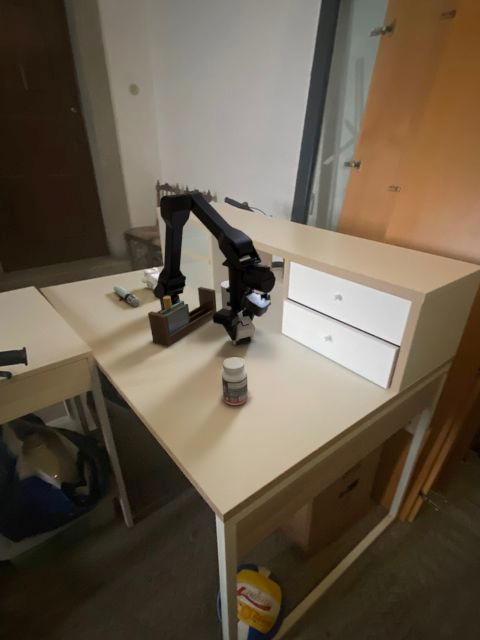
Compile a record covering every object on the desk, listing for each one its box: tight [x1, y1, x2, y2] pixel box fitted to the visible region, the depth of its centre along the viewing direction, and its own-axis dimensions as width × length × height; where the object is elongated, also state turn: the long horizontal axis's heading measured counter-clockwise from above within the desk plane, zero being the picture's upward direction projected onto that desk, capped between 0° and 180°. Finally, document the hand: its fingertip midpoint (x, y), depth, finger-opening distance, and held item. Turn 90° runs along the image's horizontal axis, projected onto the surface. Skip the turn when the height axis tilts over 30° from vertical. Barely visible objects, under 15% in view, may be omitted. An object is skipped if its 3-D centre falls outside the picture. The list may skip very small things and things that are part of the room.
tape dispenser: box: [231, 316, 256, 346], centre depth 103 cm, size 6×7×10 cm
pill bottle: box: [221, 356, 249, 406], centre depth 79 cm, size 6×6×10 cm
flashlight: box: [113, 285, 141, 308], centre depth 132 cm, size 3×4×20 cm
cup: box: [220, 279, 243, 318], centre depth 116 cm, size 8×8×12 cm
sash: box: [160, 296, 185, 315], centre depth 106 cm, size 2×10×10 cm, turn 150°
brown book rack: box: [147, 286, 218, 348], centre depth 110 cm, size 6×24×10 cm, turn 150°
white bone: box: [141, 267, 161, 291], centre depth 137 cm, size 15×9×8 cm, turn 37°
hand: (241, 334), depth 103 cm, fingers closed on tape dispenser, 7 cm apart
